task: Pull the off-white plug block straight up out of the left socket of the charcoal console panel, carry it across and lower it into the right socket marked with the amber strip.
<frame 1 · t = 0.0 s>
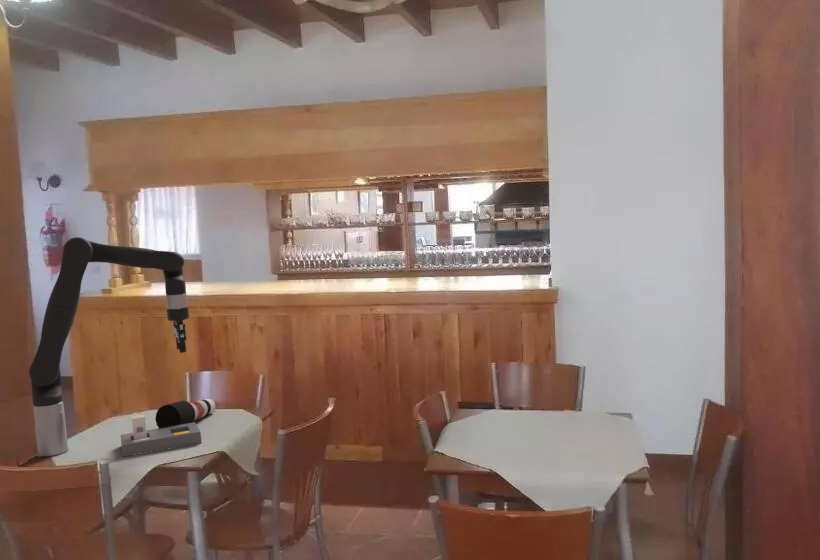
hand: (181, 350, 268), 29 cm above the table, tool pointing down, fingers open, 8 cm apart
plug: (141, 448, 250), resting in panel
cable: (193, 422, 280), on the table
panel: (161, 444, 253), on the table
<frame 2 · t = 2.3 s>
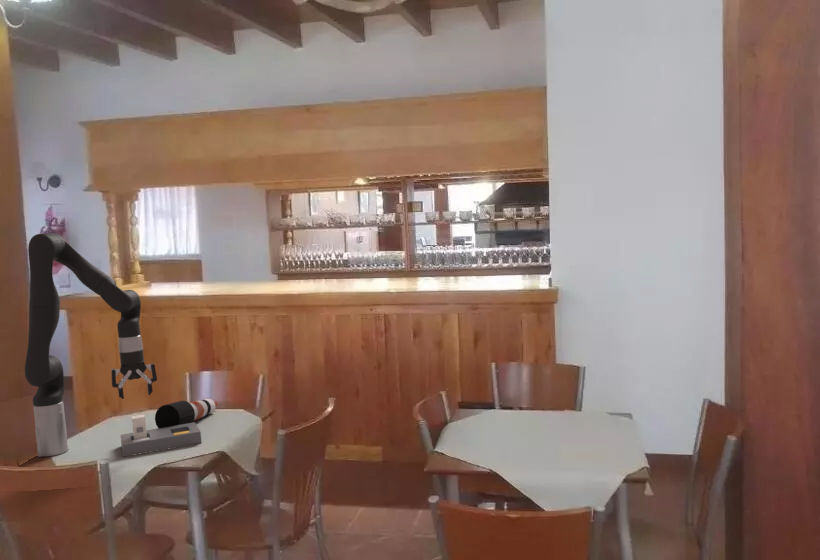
hand: (136, 396, 249), 18 cm above the table, tool pointing down, fingers open, 8 cm apart
nothing on the table moved.
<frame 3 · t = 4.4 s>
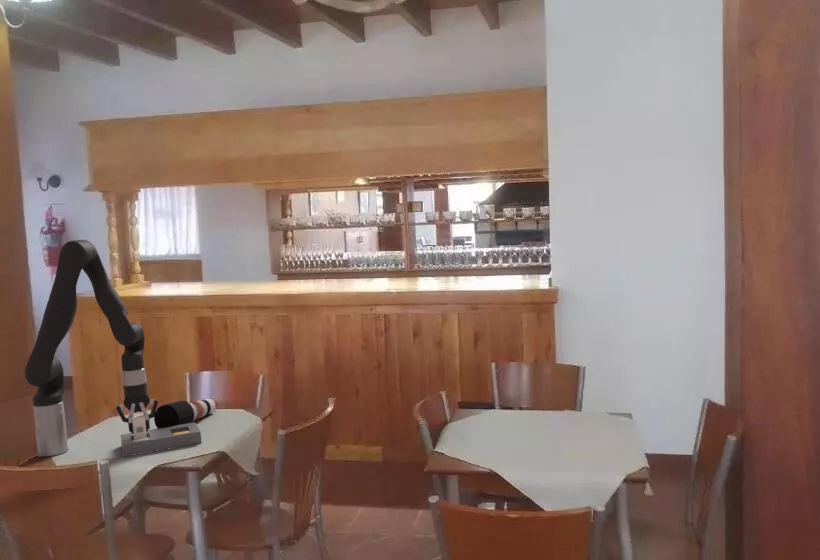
hand: (139, 431, 250), 6 cm above the table, tool pointing down, fingers closed on plug, 4 cm apart
plug: (141, 448, 250), resting in panel, touching gripper
everything else where it was.
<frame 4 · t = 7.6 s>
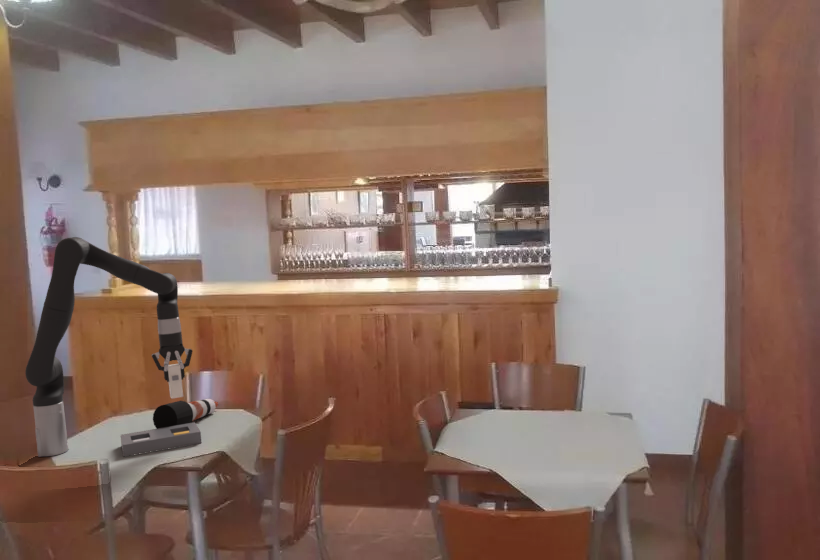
hand: (175, 380, 253), 22 cm above the table, tool pointing down, fingers closed on plug, 4 cm apart
plug: (176, 396, 254), point 16 cm above the table, touching gripper
everything else where it was.
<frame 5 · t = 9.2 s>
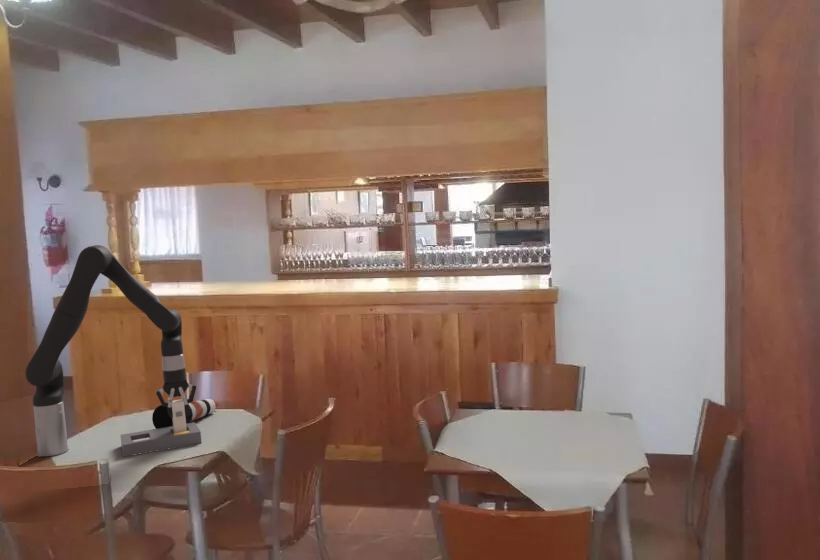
hand: (178, 416, 255), 9 cm above the table, tool pointing down, fingers closed on plug, 4 cm apart
plug: (180, 432, 255), point 3 cm above the table, touching gripper
everything else where it was.
when the fingers open (7 cm above the table, at t = 10.7 s): plug stays where it is, resting in panel.
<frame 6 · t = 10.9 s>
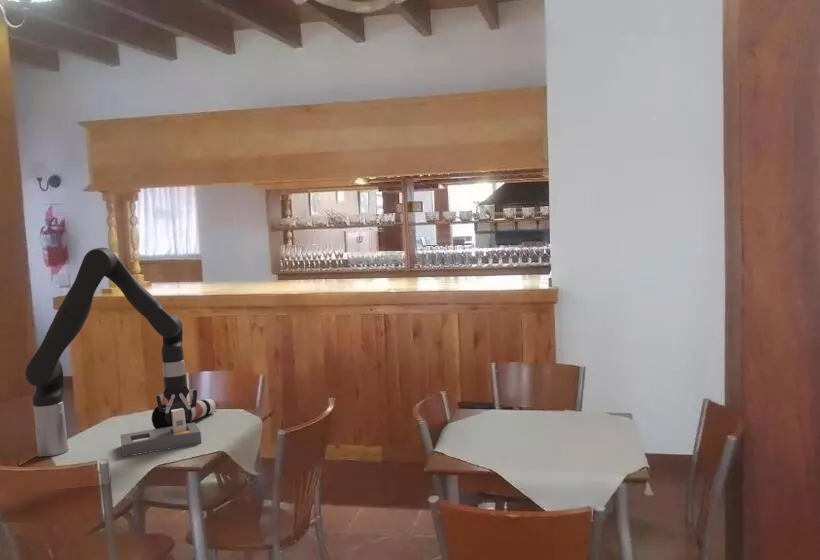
hand: (179, 421, 255), 7 cm above the table, tool pointing down, fingers open, 6 cm apart
plug: (180, 441, 256), resting in panel
everything else where it was.
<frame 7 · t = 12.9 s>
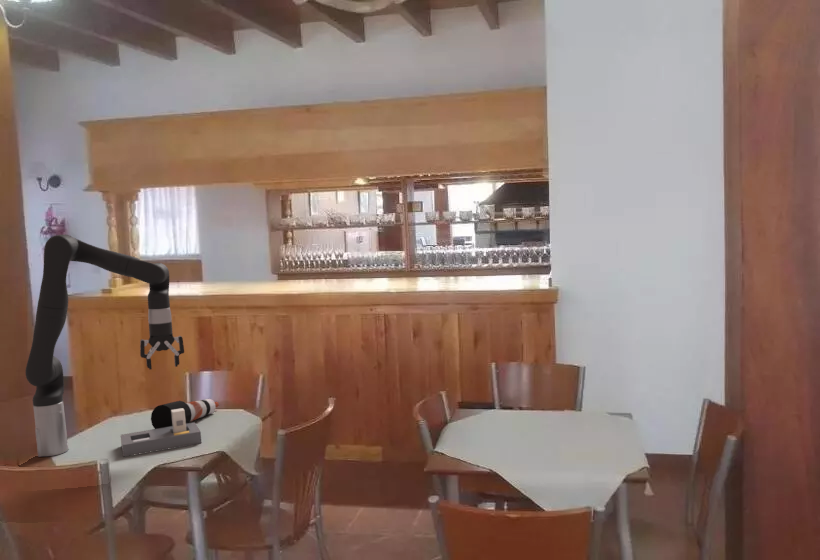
hand: (163, 367, 254), 26 cm above the table, tool pointing down, fingers open, 8 cm apart
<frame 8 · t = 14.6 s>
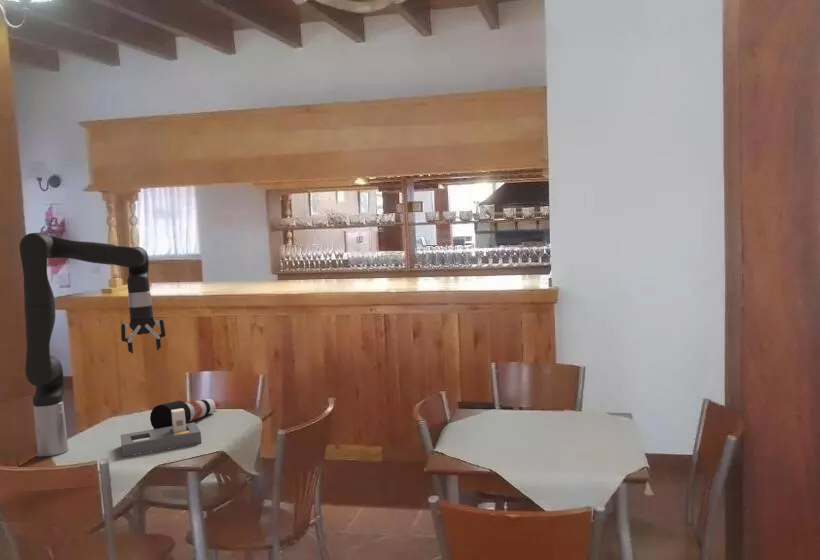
hand: (145, 351, 254), 32 cm above the table, tool pointing down, fingers open, 8 cm apart
at the end: plug 0.1 cm from the target spot on the panel, point 0.0 cm above the panel's base; plug tilted 0°; the gripper is holding nothing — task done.
